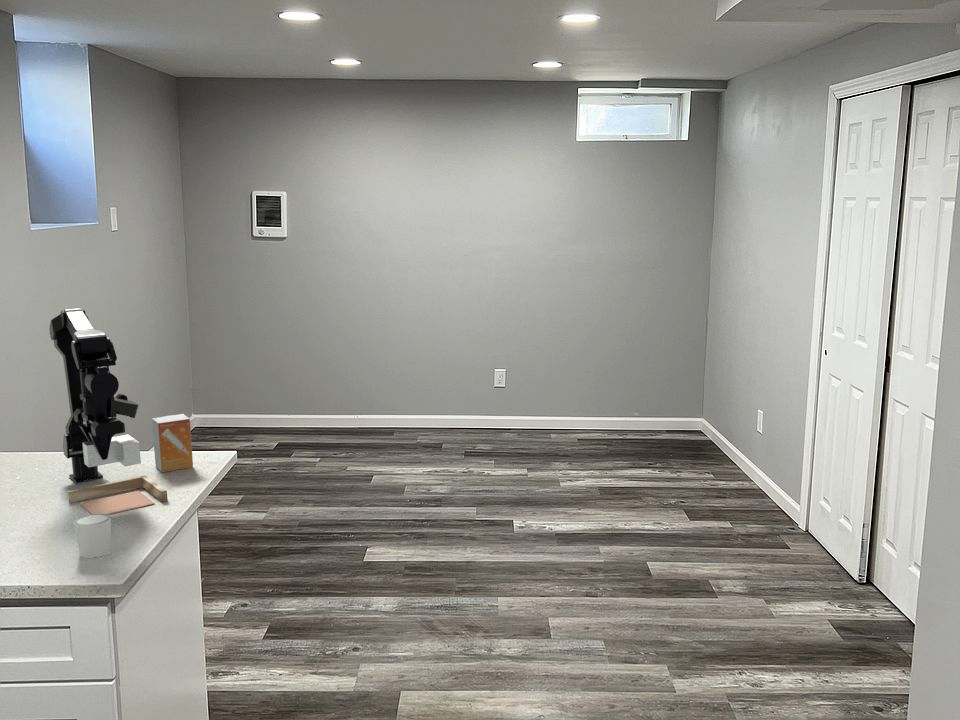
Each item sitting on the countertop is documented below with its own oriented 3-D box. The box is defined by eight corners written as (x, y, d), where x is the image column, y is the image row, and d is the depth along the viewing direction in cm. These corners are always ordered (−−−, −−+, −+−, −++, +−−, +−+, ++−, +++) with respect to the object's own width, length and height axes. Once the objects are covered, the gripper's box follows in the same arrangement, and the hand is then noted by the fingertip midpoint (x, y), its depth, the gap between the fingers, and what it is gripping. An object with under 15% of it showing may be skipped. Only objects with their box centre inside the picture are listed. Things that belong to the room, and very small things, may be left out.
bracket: (130, 455, 209) (128, 434, 208) (141, 463, 203) (139, 442, 202) (84, 463, 203) (82, 442, 202) (94, 472, 197) (92, 450, 196)
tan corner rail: (69, 501, 207) (67, 491, 207) (146, 484, 218) (145, 475, 217) (87, 519, 196) (86, 508, 195) (167, 500, 207) (166, 490, 206)
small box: (161, 473, 227) (157, 423, 224) (155, 466, 232) (151, 417, 229) (194, 467, 231) (190, 418, 229) (187, 461, 236) (183, 413, 234)
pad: (80, 504, 205) (80, 503, 205) (138, 491, 213) (138, 490, 213) (94, 517, 197) (94, 516, 197) (154, 504, 205) (154, 503, 205)
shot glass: (83, 546, 181) (80, 513, 180) (118, 545, 182) (115, 512, 180) (71, 560, 175) (67, 526, 173) (107, 559, 175) (104, 525, 174)
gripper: (146, 392, 198) (151, 460, 201) (120, 378, 212) (126, 441, 215) (92, 399, 191) (99, 470, 194) (70, 384, 206) (76, 450, 209)
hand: (102, 457), depth 203 cm, fingers closed on bracket, 3 cm apart
